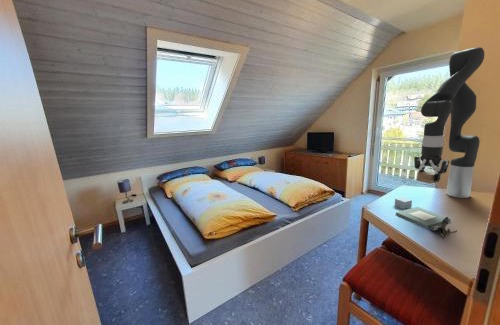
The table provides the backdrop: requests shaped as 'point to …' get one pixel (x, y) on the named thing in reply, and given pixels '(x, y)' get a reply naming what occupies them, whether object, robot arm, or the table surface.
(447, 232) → the eagle figurine
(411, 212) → the board
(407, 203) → the blue-grey brick
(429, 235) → the table surface
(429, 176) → the walnut brick
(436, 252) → the table surface
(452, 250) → the table surface
